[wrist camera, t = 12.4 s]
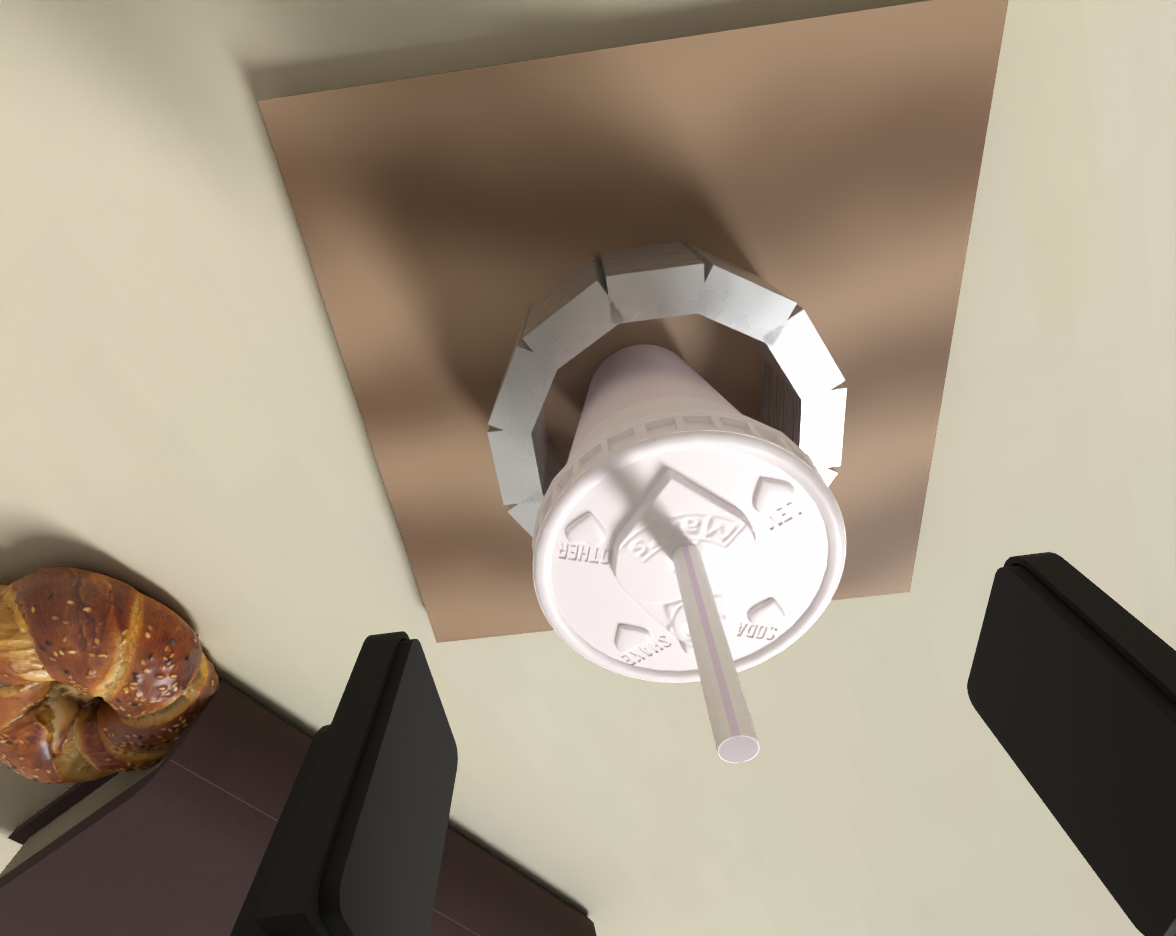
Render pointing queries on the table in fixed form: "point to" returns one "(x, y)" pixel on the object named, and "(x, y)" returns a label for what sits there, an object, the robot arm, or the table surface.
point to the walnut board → (639, 218)
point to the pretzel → (93, 677)
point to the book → (218, 845)
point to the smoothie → (684, 537)
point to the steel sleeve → (650, 291)
